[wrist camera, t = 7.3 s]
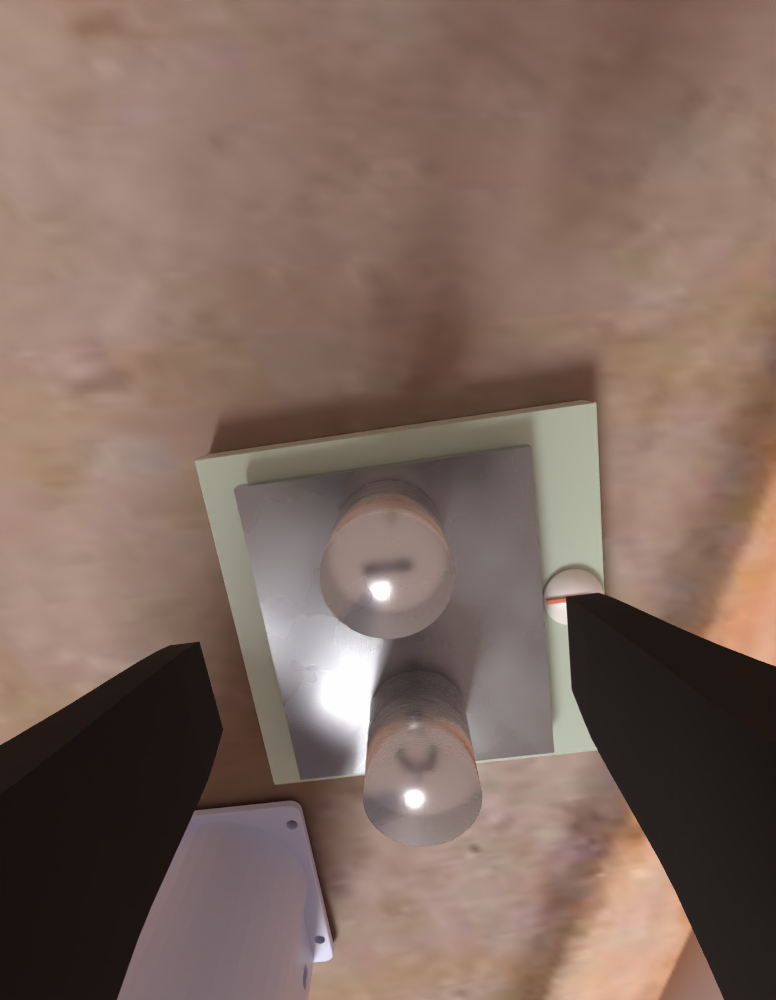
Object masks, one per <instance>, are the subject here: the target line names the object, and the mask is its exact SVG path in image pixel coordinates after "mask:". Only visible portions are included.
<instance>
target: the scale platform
mask: <svg viewBox="0 0 776 1000" xmlns="http://www.w3.org/2000/svg"><path fill="white" fill-rule="evenodd" d="M381 480H397V481H402V482H406V483H408V484H411V485H413V486H415V487H417V488H418V489H420V490H421V491H423V492H424V493H425V494H426V495H427V496H428V497H429V498H430V499H431V500H432V502H433V503H434V505H435V506H436V509H437V511H438V513H439V516H440V519H441V523H442V527H443V530H444V534H445V538H446V541H447V545H448V548H449V552H450V556H451V559H452V563H453V569H454V585H453V590H452V594H451V597H450V600H449V602H448V604H447V606H446V607H445V609H444V611H443V612H442V613H441V614H440V616H439V617H438V618H437V619H436V620H435V621H434V622H433V623H432V624H430V625H429V626H427V627H426V628H424V629H423V630H421V631H419V632H417V633H415V634H412V635H409V636H406V637H402V638H395V639H380V638H373V637H368V636H365V635H362V634H360V633H358V632H355V631H353V630H352V629H350V628H348V627H347V626H345V625H344V624H343V623H342V622H340V621H339V620H338V619H337V618H336V617H335V616H334V614H333V613H332V612H331V610H330V609H329V608H328V606H327V604H326V602H325V600H324V597H323V595H322V592H321V588H320V580H319V571H320V564H321V560H322V557H323V554H324V551H325V549H326V546H327V544H328V541H329V539H330V536H331V534H332V531H333V529H334V526H335V524H336V521H337V519H338V516H339V513H340V511H341V509H342V507H343V505H344V504H345V502H346V501H347V499H348V498H349V497H350V496H351V495H352V494H353V493H354V492H355V491H357V490H358V489H360V488H361V487H363V486H365V485H367V484H369V483H372V482H376V481H381ZM234 493H235V498H236V502H237V506H238V511H239V515H240V519H241V524H242V528H243V532H244V537H245V541H246V545H247V550H248V554H249V558H250V563H251V567H252V571H253V576H254V580H255V585H256V589H257V593H258V598H259V602H260V606H261V611H262V615H263V619H264V624H265V628H266V632H267V637H268V641H269V645H270V650H271V654H272V658H273V663H274V667H275V671H276V676H277V680H278V685H279V689H280V693H281V698H282V702H283V706H284V711H285V715H286V719H287V724H288V728H289V732H290V737H291V741H292V745H293V750H294V754H295V758H296V763H297V767H298V772H299V776H300V780H304V779H314V778H323V777H332V776H342V775H351V774H360V773H365V765H366V753H367V740H368V727H369V715H370V705H371V701H372V698H373V695H374V694H375V692H376V690H377V689H378V688H379V686H380V685H381V684H382V683H383V682H385V681H386V680H387V679H389V678H390V677H392V676H394V675H396V674H399V673H402V672H405V671H411V670H424V671H430V672H433V673H436V674H439V675H441V676H443V677H445V678H446V679H448V680H449V681H450V682H452V683H453V684H454V685H455V686H456V688H457V689H458V690H459V692H460V694H461V696H462V698H463V701H464V705H465V710H466V715H467V721H468V726H469V731H470V736H471V741H472V746H473V751H474V756H475V761H481V760H490V759H500V758H509V757H518V756H527V755H537V754H546V753H554V740H553V727H552V714H551V701H550V687H549V674H548V661H547V647H546V634H545V621H544V608H543V594H542V581H541V568H540V555H539V541H538V528H537V515H536V502H535V488H534V475H533V462H532V448H531V446H529V445H528V444H523V445H516V446H509V447H502V448H495V449H487V450H480V451H473V452H466V453H459V454H452V455H445V456H438V457H431V458H424V459H417V460H409V461H402V462H395V463H388V464H381V465H374V466H367V467H360V468H353V469H346V470H339V471H331V472H324V473H317V474H310V475H303V476H296V477H289V478H282V479H275V480H268V481H260V482H253V483H246V484H239V485H238V486H236V487H235V488H234Z"/></svg>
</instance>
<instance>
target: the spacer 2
mask: <svg viewBox="0 0 776 1000" xmlns="http://www.w3.org/2000/svg"><path fill="white" fill-rule="evenodd" d="M363 803H364V808H365V812H366V814H367V816H368V818H369V820H370V821H371V823H372V824H373V825H374V826H375V827H376V828H377V829H378V830H379V831H380V832H381V833H382V834H384V835H385V836H387V837H389V838H390V839H392V840H395V841H397V842H400V843H403V844H407V845H413V846H432V845H438V844H442V843H445V842H448V841H451V840H453V839H455V838H457V837H458V836H460V835H461V834H463V833H464V832H465V831H466V830H467V829H469V828H470V826H471V825H472V824H473V823H474V821H475V820H476V818H477V816H478V814H479V812H480V809H481V804H482V791H481V786H480V781H479V776H478V771H477V766H476V761H475V756H474V751H473V746H472V741H471V736H470V731H469V726H468V721H467V715H466V710H465V705H464V701H463V698H462V696H461V694H460V692H459V690H458V689H457V688H456V686H455V685H454V684H453V683H452V682H450V681H449V680H448V679H446V678H445V677H443V676H441V675H439V674H436V673H433V672H430V671H424V670H411V671H405V672H402V673H399V674H396V675H394V676H392V677H390V678H389V679H387V680H386V681H385V682H383V683H382V684H381V685H380V686H379V688H378V689H377V690H376V692H375V694H374V695H373V698H372V701H371V705H370V715H369V727H368V740H367V753H366V765H365V778H364V791H363Z"/></svg>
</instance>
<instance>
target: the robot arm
mask: <svg viewBox="0 0 776 1000" xmlns="http://www.w3.org/2000/svg"><path fill="white" fill-rule="evenodd" d="M566 608H567V624H568V640H569V656H570V673H571V689H572V692H573V695H574V697H575V700H576V702H577V705H578V707H579V710H580V713H581V715H582V718H583V720H584V722H585V725H586V727H587V729H588V732H589V734H590V737H591V739H592V741H593V742H594V744H595V746H596V748H597V750H598V752H599V753H600V755H601V757H602V759H603V761H604V762H605V764H606V766H607V768H608V770H609V771H610V773H611V775H612V777H613V779H614V780H615V782H616V784H617V786H618V787H619V789H620V791H621V793H622V794H623V796H624V798H625V800H626V802H627V803H628V805H629V807H630V809H631V810H632V812H633V814H634V816H635V817H636V819H637V821H638V823H639V825H640V826H641V828H642V830H643V832H644V833H645V835H646V837H647V839H648V841H649V842H650V844H651V846H652V848H653V849H654V851H655V853H656V855H657V856H658V858H659V860H660V862H661V864H662V866H663V868H664V870H665V872H666V874H667V876H668V878H669V879H670V881H671V883H672V885H673V887H674V889H675V891H676V893H677V896H678V898H679V900H680V902H681V904H682V907H683V909H684V911H685V913H686V915H687V918H688V920H689V922H690V924H691V926H692V929H693V931H694V933H695V935H696V937H697V940H698V942H699V944H700V946H701V948H702V951H703V953H704V955H705V957H706V959H707V961H708V964H709V966H710V968H711V970H712V973H713V975H714V977H715V980H716V982H717V984H718V987H719V989H720V991H721V993H722V996H723V998H724V1000H776V666H773V665H770V664H767V663H764V662H762V661H759V660H756V659H754V658H751V657H749V656H746V655H744V654H741V653H738V652H736V651H733V650H731V649H728V648H726V647H723V646H720V645H718V644H716V643H713V642H711V641H708V640H706V639H704V638H701V637H699V636H697V635H694V634H692V633H690V632H687V631H685V630H683V629H681V628H678V627H676V626H674V625H672V624H669V623H667V622H665V621H663V620H661V619H658V618H656V617H654V616H652V615H650V614H648V613H645V612H643V611H641V610H639V609H637V608H635V607H632V606H630V605H628V604H626V603H624V602H621V601H619V600H617V599H614V598H612V597H610V596H607V595H604V594H601V593H591V594H583V595H575V596H567V597H566ZM222 731H223V728H222V724H221V720H220V717H219V713H218V709H217V705H216V702H215V698H214V694H213V691H212V687H211V683H210V679H209V676H208V672H207V668H206V664H205V661H204V657H203V653H202V650H201V646H200V642H194V643H186V644H178V645H170V646H168V647H165V648H163V649H161V650H159V651H157V652H155V653H153V654H151V655H150V656H148V657H146V658H144V659H143V660H141V661H139V662H137V663H136V664H134V665H132V666H131V667H129V668H128V669H126V670H124V671H123V672H121V673H119V674H118V675H116V676H115V677H113V678H111V679H110V680H108V681H107V682H105V683H103V684H102V685H100V686H99V687H97V688H95V689H94V690H92V691H91V692H89V693H87V694H86V695H84V696H83V697H81V698H79V699H78V700H76V701H75V702H73V703H71V704H70V705H68V706H66V707H65V708H63V709H61V710H60V711H58V712H56V713H55V714H53V715H51V716H49V717H48V718H46V719H44V720H43V721H41V722H39V723H38V724H36V725H34V726H32V727H31V728H29V729H27V730H26V731H24V732H22V733H21V734H19V735H17V736H16V737H14V738H12V739H10V740H9V741H7V742H5V743H3V744H2V745H0V1000H308V996H309V989H310V981H311V974H312V967H313V962H323V961H328V960H330V959H331V958H332V957H333V953H334V944H333V939H332V935H331V931H330V926H329V922H328V918H327V914H326V909H325V905H324V901H323V896H322V892H321V888H320V883H319V879H318V875H317V871H316V866H315V862H314V858H313V853H312V849H311V845H310V841H309V836H308V832H307V828H306V823H305V819H304V815H303V811H302V807H301V805H300V804H299V803H297V802H295V801H281V802H272V803H262V804H253V805H243V806H234V807H224V808H215V809H205V810H196V811H195V809H196V806H197V804H198V802H199V800H200V797H201V795H202V793H203V790H204V788H205V786H206V783H207V781H208V778H209V775H210V772H211V769H212V766H213V762H214V759H215V756H216V752H217V749H218V745H219V742H220V738H221V734H222ZM290 820H293V821H295V822H291V821H290Z"/></svg>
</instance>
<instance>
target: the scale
mask: <svg viewBox="0 0 776 1000" xmlns="http://www.w3.org/2000/svg"><path fill="white" fill-rule="evenodd" d="M523 444H528V445H529V446H531V448H532V462H533V475H534V488H535V502H536V515H537V528H538V541H539V555H540V568H541V581H542V594H543V608H544V621H545V634H546V647H547V661H548V674H549V687H550V701H551V714H552V727H553V740H554V753H546V754H537V755H527V756H518V757H509V758H500V759H490V760H481V761H476V763H483V762H493V761H502V760H511V759H520V758H530V757H539V756H548V755H558V754H567V753H576V752H586V751H595V750H597V748H596V746H595V744H594V742H593V741H592V739H591V737H590V734H589V732H588V729H587V727H586V725H585V722H584V720H583V718H582V715H581V713H580V710H579V707H578V705H577V702H576V700H575V697H574V695H573V692H572V689H571V673H570V656H569V640H568V624H567V608H566V597H567V596H575V595H583V594H591V593H601V594H604V575H603V551H602V527H601V503H600V479H599V455H598V431H597V407H596V402H590V401H585V400H578V401H571V402H564V403H557V404H550V405H543V406H536V407H529V408H522V409H515V410H509V411H502V412H495V413H488V414H481V415H474V416H467V417H460V418H453V419H446V420H440V421H433V422H426V423H419V424H412V425H405V426H398V427H391V428H384V429H377V430H371V431H364V432H357V433H350V434H343V435H336V436H329V437H322V438H315V439H308V440H301V441H295V442H288V443H281V444H274V445H267V446H260V447H253V448H246V449H239V450H232V451H226V452H219V453H212V454H207V455H205V456H203V457H201V458H199V459H197V460H195V465H196V469H197V473H198V477H199V481H200V486H201V490H202V494H203V498H204V502H205V506H206V510H207V514H208V518H209V522H210V526H211V530H212V534H213V538H214V542H215V546H216V550H217V554H218V559H219V563H220V567H221V571H222V575H223V579H224V583H225V587H226V591H227V595H228V599H229V603H230V607H231V611H232V615H233V619H234V623H235V628H236V632H237V636H238V640H239V644H240V648H241V652H242V656H243V660H244V664H245V668H246V672H247V676H248V680H249V684H250V688H251V692H252V696H253V701H254V705H255V709H256V713H257V717H258V721H259V725H260V729H261V733H262V737H263V741H264V745H265V749H266V753H267V757H268V761H269V765H270V770H271V774H272V778H273V782H274V785H278V784H288V783H297V782H306V781H316V780H325V779H334V778H343V777H353V776H362V775H365V773H360V774H351V775H342V776H332V777H323V778H314V779H304V780H300V776H299V772H298V767H297V763H296V758H295V754H294V750H293V745H292V741H291V737H290V732H289V728H288V724H287V719H286V715H285V711H284V706H283V702H282V698H281V693H280V689H279V685H278V680H277V676H276V671H275V667H274V663H273V658H272V654H271V650H270V645H269V641H268V637H267V632H266V628H265V624H264V619H263V615H262V611H261V606H260V602H259V598H258V593H257V589H256V585H255V580H254V576H253V571H252V567H251V563H250V558H249V554H248V550H247V545H246V541H245V537H244V532H243V528H242V524H241V519H240V515H239V511H238V506H237V502H236V498H235V493H234V488H235V487H236V486H238V485H239V484H246V483H253V482H260V481H268V480H275V479H282V478H289V477H296V476H303V475H310V474H317V473H324V472H331V471H339V470H346V469H353V468H360V467H367V466H374V465H381V464H388V463H395V462H402V461H409V460H417V459H424V458H431V457H438V456H445V455H452V454H459V453H466V452H473V451H480V450H487V449H495V448H502V447H509V446H516V445H523Z"/></svg>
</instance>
